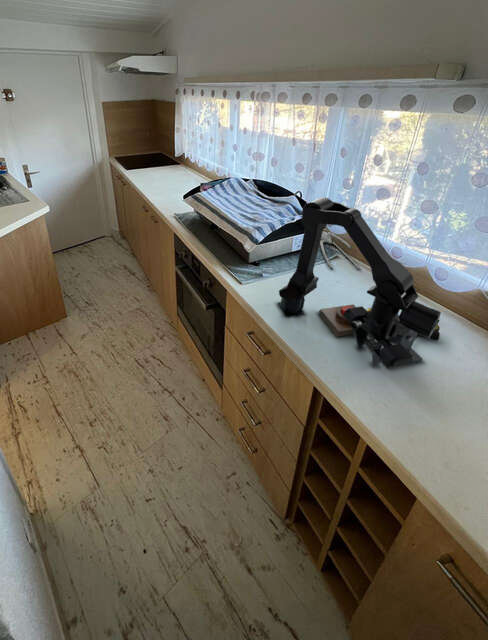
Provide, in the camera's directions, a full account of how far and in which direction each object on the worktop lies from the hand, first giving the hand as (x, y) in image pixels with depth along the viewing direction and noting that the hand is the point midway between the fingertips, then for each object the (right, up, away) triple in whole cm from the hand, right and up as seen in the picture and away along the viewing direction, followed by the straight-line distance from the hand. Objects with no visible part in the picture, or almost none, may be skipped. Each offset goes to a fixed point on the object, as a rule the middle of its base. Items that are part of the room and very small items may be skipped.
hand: (367, 355), depth 85 cm
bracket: (+8, +1, +1) cm, 8 cm away
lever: (+5, +5, -2) cm, 7 cm away
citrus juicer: (+12, +23, +36) cm, 44 cm away
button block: (0, +6, +12) cm, 13 cm away
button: (0, +9, +10) cm, 14 cm away
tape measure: (+21, +4, +7) cm, 22 cm away
